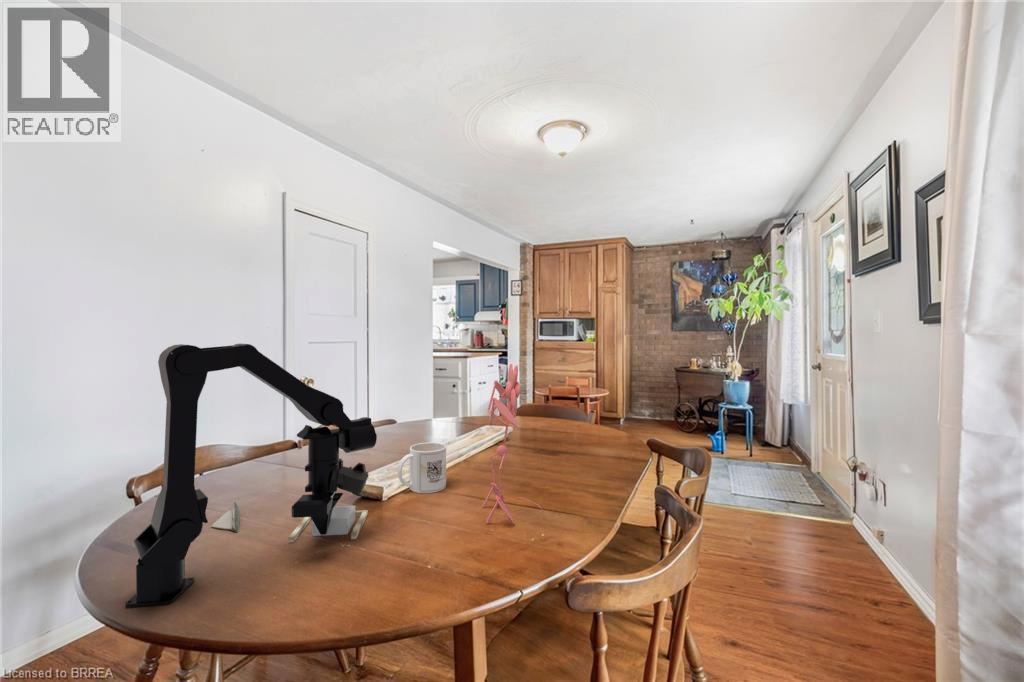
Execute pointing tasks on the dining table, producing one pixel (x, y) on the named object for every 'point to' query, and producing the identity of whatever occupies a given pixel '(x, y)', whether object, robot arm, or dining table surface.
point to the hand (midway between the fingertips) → (323, 533)
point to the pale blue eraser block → (338, 521)
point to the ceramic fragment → (229, 520)
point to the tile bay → (306, 520)
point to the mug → (425, 467)
